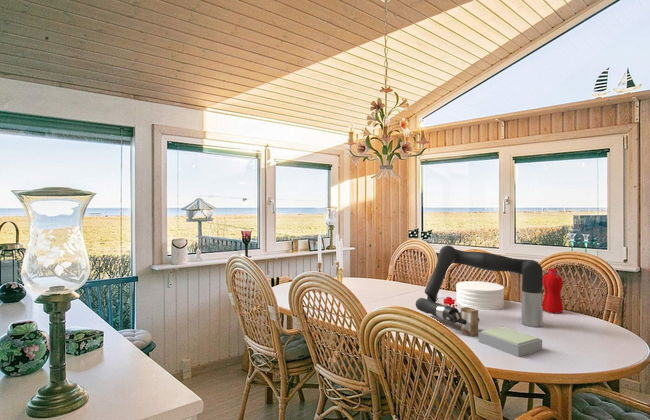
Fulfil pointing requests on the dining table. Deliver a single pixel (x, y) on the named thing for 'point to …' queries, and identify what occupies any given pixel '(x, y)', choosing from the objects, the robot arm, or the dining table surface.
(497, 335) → the display stand
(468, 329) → the frame
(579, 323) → the dining table surface
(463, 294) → the plate stack
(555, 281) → the water bottle
